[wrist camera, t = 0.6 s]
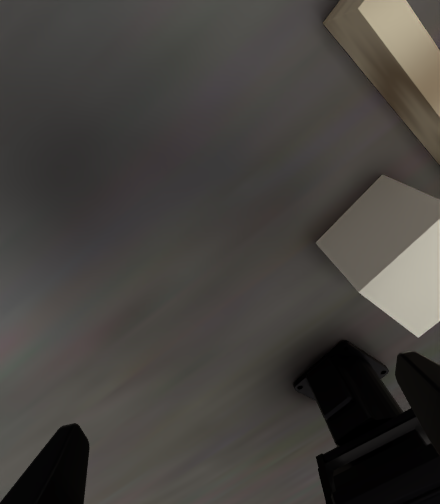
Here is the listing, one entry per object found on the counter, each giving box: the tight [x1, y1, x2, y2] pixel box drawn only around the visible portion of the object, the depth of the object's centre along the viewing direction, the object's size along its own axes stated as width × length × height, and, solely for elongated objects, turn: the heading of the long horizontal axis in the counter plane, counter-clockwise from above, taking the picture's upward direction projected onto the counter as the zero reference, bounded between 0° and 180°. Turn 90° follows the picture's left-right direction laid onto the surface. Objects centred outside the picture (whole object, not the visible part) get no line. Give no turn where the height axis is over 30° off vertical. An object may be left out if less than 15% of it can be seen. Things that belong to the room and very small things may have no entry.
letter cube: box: [316, 174, 440, 338], centre depth 20 cm, size 6×6×6 cm
